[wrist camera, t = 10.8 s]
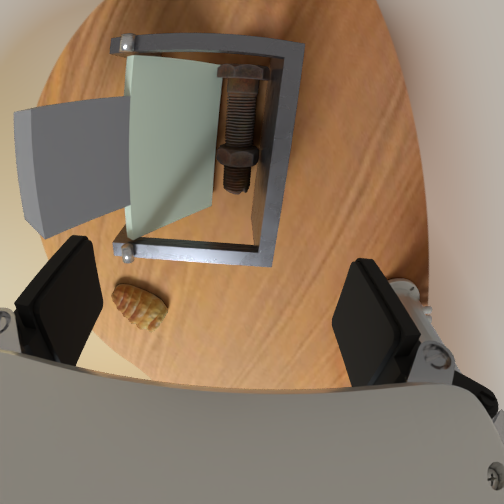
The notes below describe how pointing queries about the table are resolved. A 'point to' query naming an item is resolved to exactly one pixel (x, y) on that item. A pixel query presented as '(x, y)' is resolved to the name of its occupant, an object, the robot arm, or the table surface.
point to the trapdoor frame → (271, 147)
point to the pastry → (139, 306)
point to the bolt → (240, 124)
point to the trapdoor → (123, 150)
